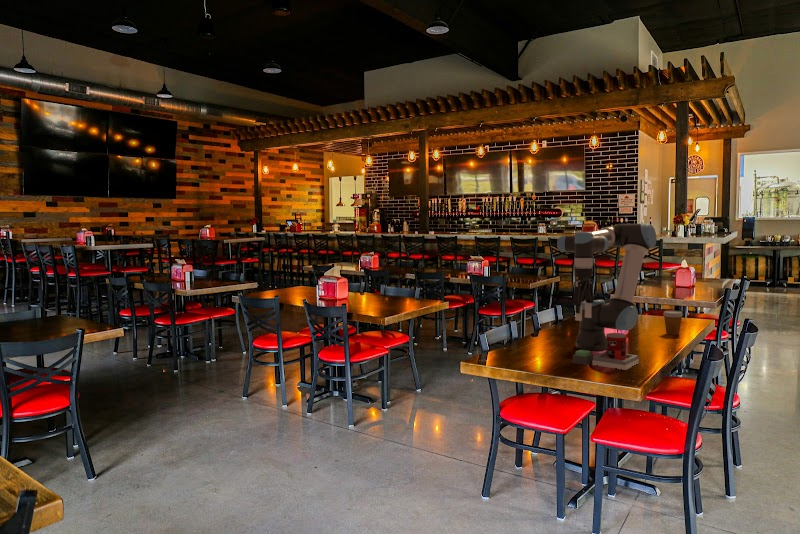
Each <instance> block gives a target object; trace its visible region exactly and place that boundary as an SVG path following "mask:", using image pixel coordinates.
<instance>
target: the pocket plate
mask: <svg viewBox="0 0 800 534" xmlns="http://www.w3.org/2000/svg"><path fill="white" fill-rule="evenodd" d="M639 363H640V361H639V354H637V355H636V354H629V353H626V359H625V360H616V359H610V358H606V350H605V351H603V352H601V353H599V354H597V355H593V360H592V363H591V365H592V366H596V365H598V367H604V368H610V369H615V368H617V370H621V369H622V370H623V371H627V370H629V369H631V368H633V367H634V365H635V366H636V364H637V365H638V364H639ZM632 366H633V367H632Z"/></svg>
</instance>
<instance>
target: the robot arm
mask: <svg viewBox="0 0 800 534" xmlns="http://www.w3.org/2000/svg"><path fill="white" fill-rule="evenodd" d="M556 243H557V244H556V247H557V249H558V251H560V252H563V253H564V252H565V253H574V259H573V262H574V276H575V277H576V278H577V280H576V281H574V282H573V296H572V305H573V306H574V308H575V309H574V312H575V313H574V314H575V315H574V316H575V318H574V321H577V322H578V321H579V331H578V335H577V338H576V340H575V348H577V349H579V350H586V351H604V350H605V351H606V333H605V329H610V330H617V331H631V330H632V329H633V328H634V327H635V325H636V324H637V321H638V318H639V311H638V308H637V307H636V304H635V302H634V297H635V293H636V289H637V285H638V281H639V278H640V277H639V276H640V273H641V269H642V266H643V262H644V258H645V256H646V255H648V254H649V251H650V249H652V248H653V249H654V247H656V244H657V233H656V229H655V227H654V226H653V225H652V224H650V223H617V224H614V225H610V226H609V225H608V226H606V227H602V228H600V229H599V230H595V231H578V232H575V234H572V235H560V236H558V239H557V241H556ZM609 247H616V248H617V247H618V248H622V249H623V250H624V251H625V252H624V256H623V260H622V264H621V267H620V271H619V275H618V279H617V282H616V287H615V292H614V295H613V296H612V297H610V298H609V299H608V300H609V301H608V303H606V302H605V300H604V299H595V297H594V296H595V294H594V285H593V283H594V280H593V278H592V277H593V274H594V271H593V267H594V257H593V254H596V253H597V254H598V253H599V254H601V253H604V252H605V251H607V250H608V248H609ZM583 297H584V298H585V299H584V300H585V301H583Z"/></svg>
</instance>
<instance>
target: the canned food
mask: <svg viewBox="0 0 800 534" xmlns="http://www.w3.org/2000/svg"><path fill="white" fill-rule="evenodd" d="M605 335H606V349H605V351H606V358H610V359H616V360H625V359H626V354H627V335H626V334H625V333H620V332H609V333H605Z"/></svg>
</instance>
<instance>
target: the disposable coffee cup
mask: <svg viewBox="0 0 800 534" xmlns="http://www.w3.org/2000/svg"><path fill="white" fill-rule="evenodd" d="M662 314H663V317H664V318H663V319H664V325H665V326H664V327H665V333H667V334H666V335H668V334H670V336H678V335H680V330H681V326H682V325H681V323H682V318H683V312H682V311H679V310H665V311H664V312H663V313H662Z"/></svg>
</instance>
